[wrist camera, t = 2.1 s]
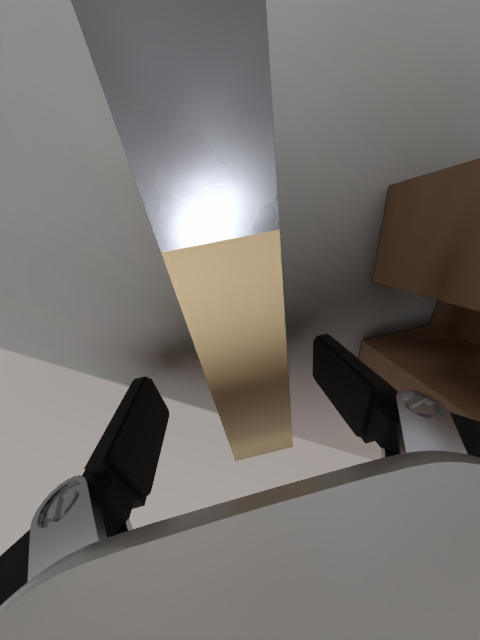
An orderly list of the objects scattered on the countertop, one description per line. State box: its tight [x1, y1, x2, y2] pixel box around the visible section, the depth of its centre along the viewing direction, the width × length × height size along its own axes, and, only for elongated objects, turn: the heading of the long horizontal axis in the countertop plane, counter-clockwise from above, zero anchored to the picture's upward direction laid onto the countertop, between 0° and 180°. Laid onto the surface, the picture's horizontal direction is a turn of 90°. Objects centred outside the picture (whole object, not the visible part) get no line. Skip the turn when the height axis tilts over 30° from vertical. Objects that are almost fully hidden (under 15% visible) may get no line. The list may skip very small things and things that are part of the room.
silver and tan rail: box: [71, 0, 293, 461], centre depth 8 cm, size 14×3×6 cm, turn 10°
